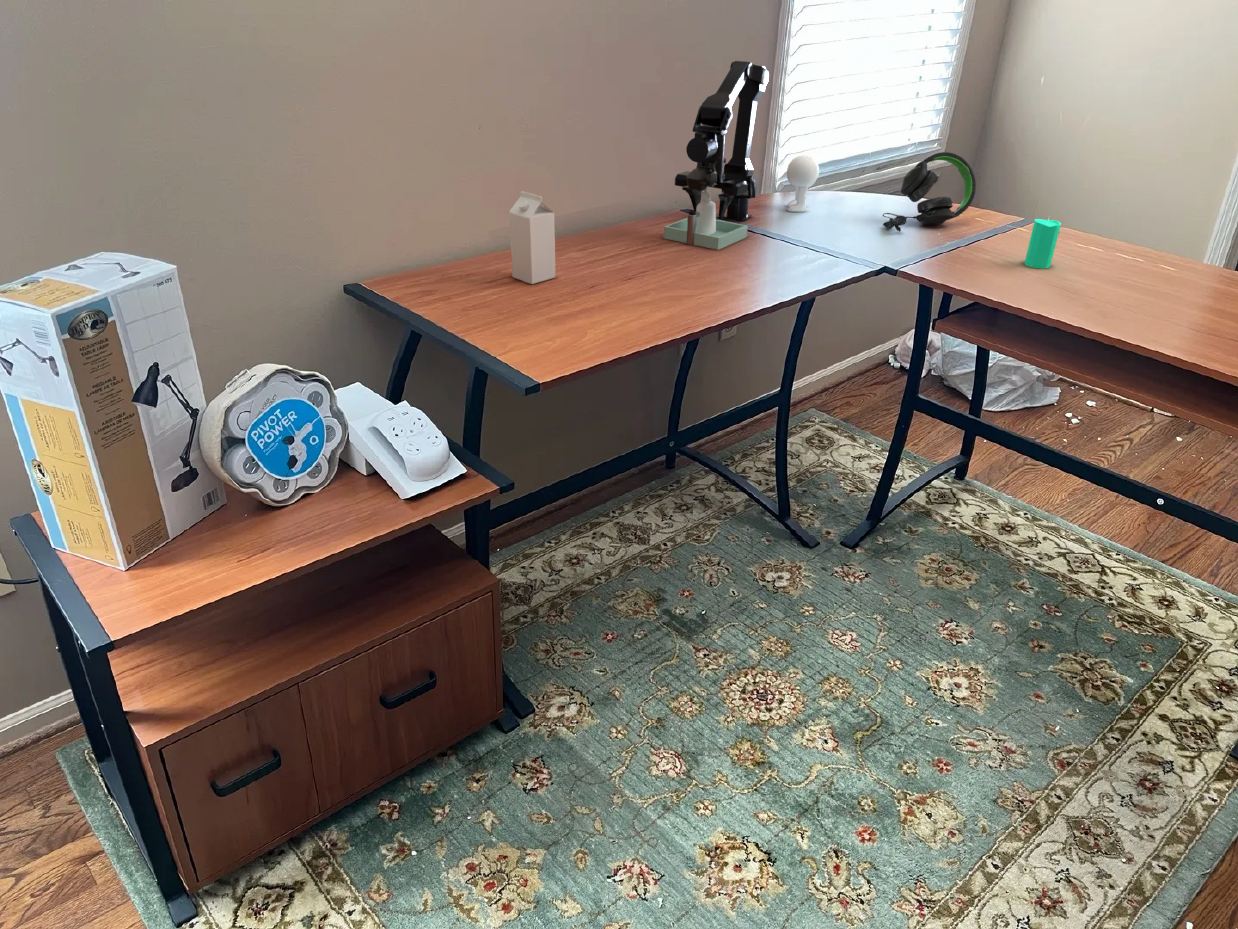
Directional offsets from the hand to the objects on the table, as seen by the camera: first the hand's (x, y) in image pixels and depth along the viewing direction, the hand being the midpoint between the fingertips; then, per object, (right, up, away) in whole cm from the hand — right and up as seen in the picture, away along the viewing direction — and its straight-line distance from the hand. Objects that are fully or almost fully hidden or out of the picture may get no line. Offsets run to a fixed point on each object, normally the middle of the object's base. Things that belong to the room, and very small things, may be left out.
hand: (708, 216), depth 237 cm
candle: (+79, -16, -15) cm, 82 cm away
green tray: (-1, -5, +2) cm, 5 cm away
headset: (+62, +1, +15) cm, 63 cm away
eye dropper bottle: (0, -4, +2) cm, 5 cm away
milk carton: (-43, -22, -28) cm, 55 cm away
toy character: (+29, +10, +29) cm, 42 cm away
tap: (-5, -8, -3) cm, 10 cm away
